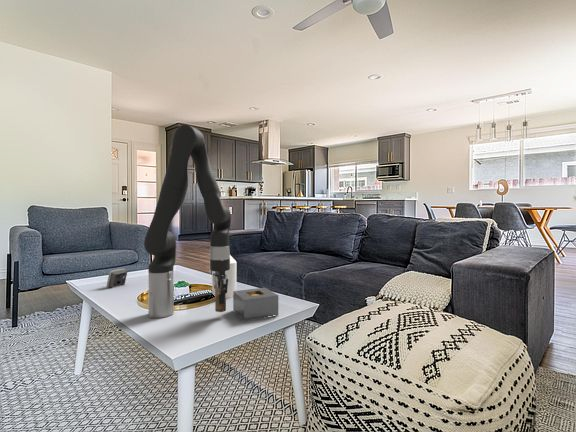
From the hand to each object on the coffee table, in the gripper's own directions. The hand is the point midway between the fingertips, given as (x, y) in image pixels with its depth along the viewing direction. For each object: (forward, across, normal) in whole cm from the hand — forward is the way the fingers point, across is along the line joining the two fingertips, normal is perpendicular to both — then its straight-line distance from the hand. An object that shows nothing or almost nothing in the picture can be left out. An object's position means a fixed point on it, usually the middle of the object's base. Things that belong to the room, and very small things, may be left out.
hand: (220, 301), depth 125 cm
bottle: (+6, -31, +10) cm, 33 cm away
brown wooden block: (+3, 0, 0) cm, 3 cm away
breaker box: (+6, +1, +14) cm, 15 cm away
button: (+5, +1, +14) cm, 15 cm away
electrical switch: (+6, -75, -37) cm, 84 cm away
